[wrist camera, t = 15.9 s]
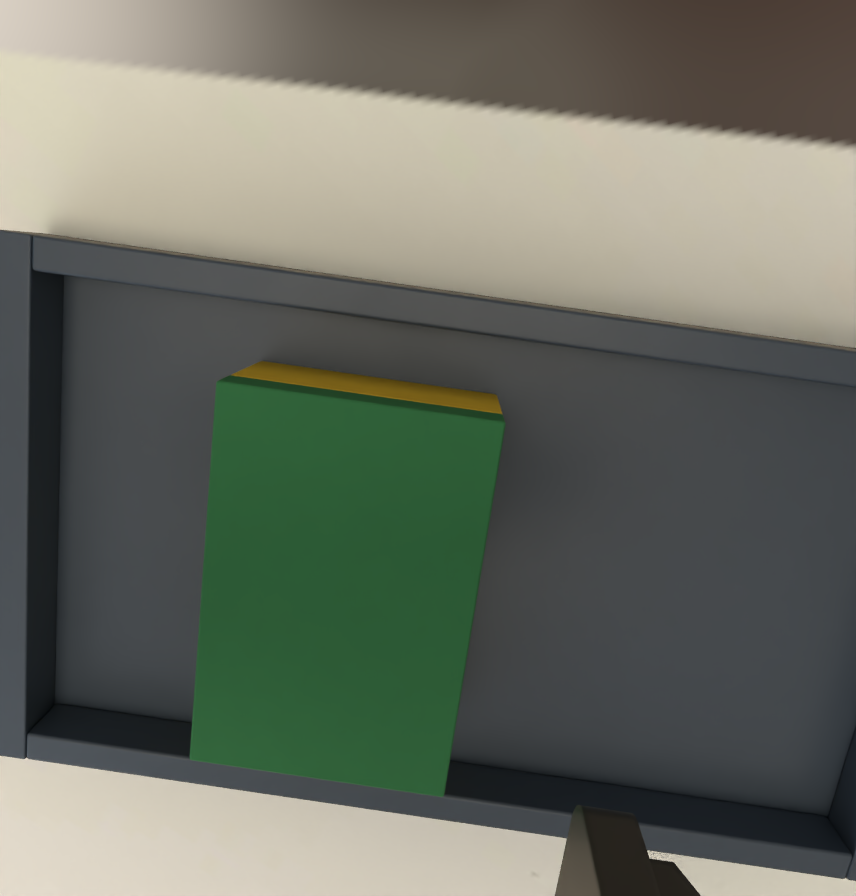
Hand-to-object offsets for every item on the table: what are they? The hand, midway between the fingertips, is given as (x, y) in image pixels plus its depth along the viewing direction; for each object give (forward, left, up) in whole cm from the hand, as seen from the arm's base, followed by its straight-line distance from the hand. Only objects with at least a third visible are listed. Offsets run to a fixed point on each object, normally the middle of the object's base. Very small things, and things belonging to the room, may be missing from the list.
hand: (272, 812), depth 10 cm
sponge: (0, 0, -10) cm, 10 cm away
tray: (-3, +1, -10) cm, 11 cm away
